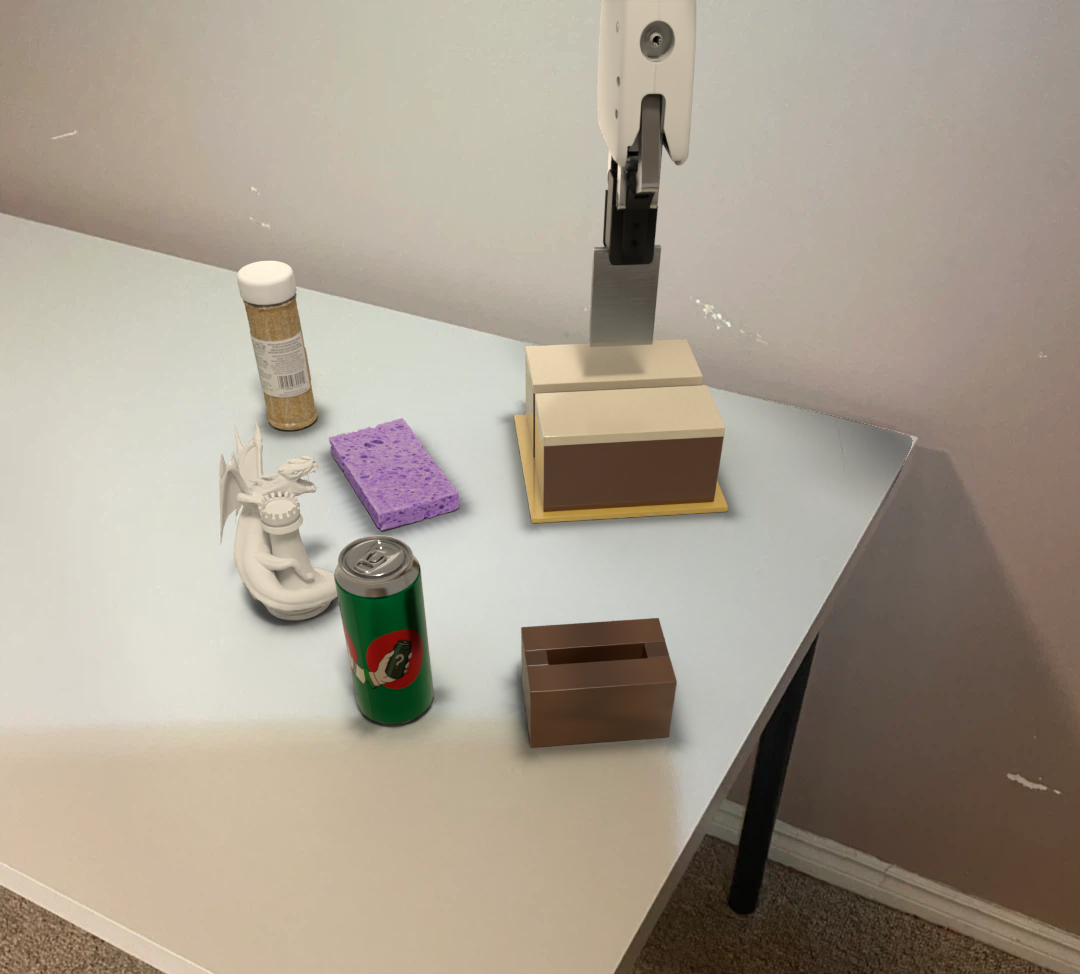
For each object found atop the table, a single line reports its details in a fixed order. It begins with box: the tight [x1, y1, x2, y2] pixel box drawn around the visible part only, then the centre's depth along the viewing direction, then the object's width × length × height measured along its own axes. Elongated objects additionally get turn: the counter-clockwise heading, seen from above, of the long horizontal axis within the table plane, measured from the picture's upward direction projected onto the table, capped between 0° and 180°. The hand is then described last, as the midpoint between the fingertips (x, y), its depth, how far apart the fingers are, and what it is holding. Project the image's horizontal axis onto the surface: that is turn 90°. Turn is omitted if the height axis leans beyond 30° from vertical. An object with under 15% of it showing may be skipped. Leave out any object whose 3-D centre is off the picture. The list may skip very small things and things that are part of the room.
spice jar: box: [236, 260, 318, 431], centre depth 87 cm, size 5×5×13 cm
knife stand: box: [520, 617, 678, 748], centre depth 65 cm, size 9×6×5 cm, turn 96°
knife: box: [588, 169, 662, 347], centre depth 75 cm, size 5×2×12 cm, turn 96°
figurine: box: [219, 421, 338, 622], centre depth 72 cm, size 11×8×12 cm
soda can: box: [333, 534, 434, 725], centre depth 63 cm, size 5×5×12 cm
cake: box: [513, 338, 729, 524], centre depth 85 cm, size 16×16×7 cm
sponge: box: [328, 417, 460, 531], centre depth 85 cm, size 7×13×2 cm, turn 26°
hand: (627, 253), depth 75 cm, fingers closed on knife, 2 cm apart
